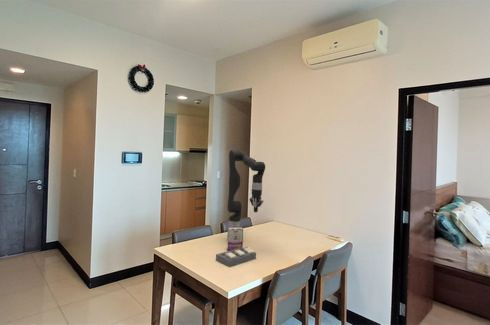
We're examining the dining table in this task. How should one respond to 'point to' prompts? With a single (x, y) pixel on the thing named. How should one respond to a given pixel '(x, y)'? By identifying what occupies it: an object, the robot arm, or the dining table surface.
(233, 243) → the candy bar box
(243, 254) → the rocker
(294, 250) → the dining table surface
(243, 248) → the rocker
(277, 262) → the dining table surface
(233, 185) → the robot arm
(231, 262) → the grey control panel
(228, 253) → the rocker
